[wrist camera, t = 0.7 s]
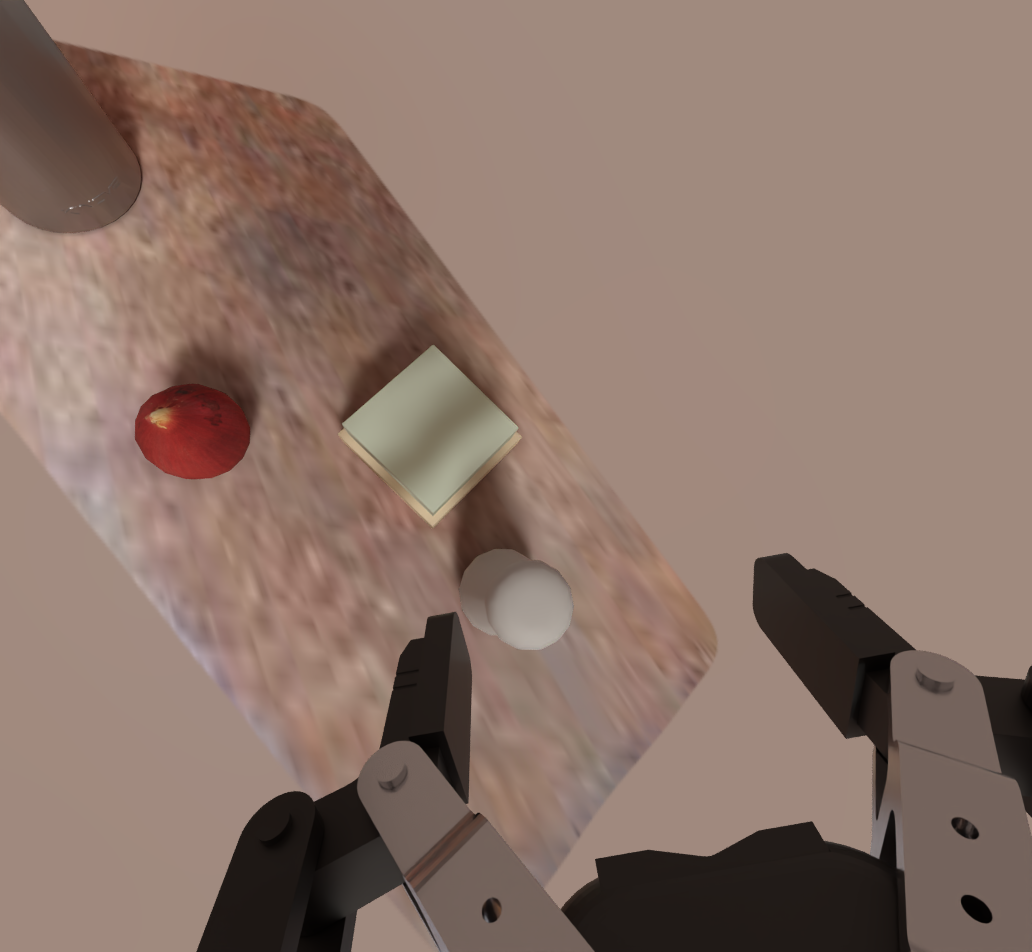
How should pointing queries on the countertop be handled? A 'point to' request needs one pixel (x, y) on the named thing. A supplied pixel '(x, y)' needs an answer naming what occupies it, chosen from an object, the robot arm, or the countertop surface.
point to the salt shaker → (516, 599)
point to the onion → (192, 431)
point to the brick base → (430, 435)
